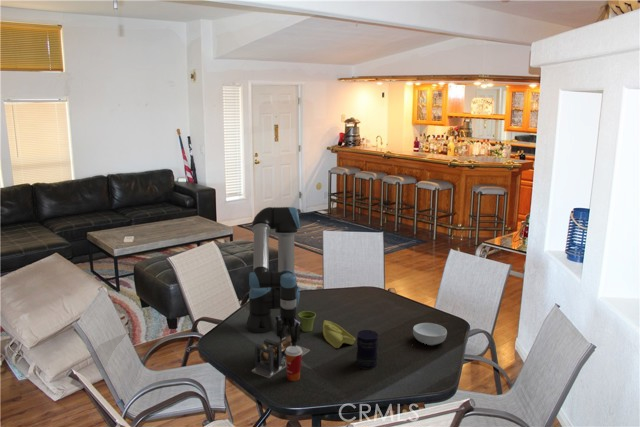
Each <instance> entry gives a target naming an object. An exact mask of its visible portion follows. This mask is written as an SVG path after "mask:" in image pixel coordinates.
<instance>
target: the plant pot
mask: <svg viewBox="0 0 640 427" xmlns="http://www.w3.org/2000/svg"><path fill="white" fill-rule="evenodd" d="M297 315H298V319H299V321H301V325H300V331H301V332H303V333H304V332H305V333H308V332H312V331H313V328H314V322H315V319H316V316H317V314H316V312H314V311H310V310H304V311H301V312H298V314H297Z"/></svg>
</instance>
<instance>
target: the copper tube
mask: <svg viewBox="0 0 640 427" xmlns="http://www.w3.org/2000/svg"><path fill="white" fill-rule="evenodd" d="M290 342H291V335H288V336H286V338H285V339H283V340H282V341H279V342H277V343H280V344H282V351H284V350H285V349H286V348H287V347H289V346H290ZM269 348H272V349H273V357H274V356H276V355H277V347H274V346H271V347H269ZM260 358H261V360H262V361H268V352H266V351H263V350H262V352H260Z"/></svg>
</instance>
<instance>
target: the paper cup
mask: <svg viewBox="0 0 640 427" xmlns="http://www.w3.org/2000/svg"><path fill="white" fill-rule="evenodd" d="M298 346H299V345H298ZM298 346H289V347H287V348H286V351H285V354H286V367H285V368H286V378H287V380H288V381H290V382H297V381H300V378H301V367H302V366H301V365H302V357H303V356H302V349H301V348H300V347H298ZM301 356H302V357H301Z"/></svg>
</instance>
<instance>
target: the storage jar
mask: <svg viewBox="0 0 640 427" xmlns="http://www.w3.org/2000/svg"><path fill="white" fill-rule="evenodd" d="M356 335H357V339H356V346H357V348H356V349H357V352H356V366H357V367H358V368H361V369H363V370H365V369H366V370H373V369H375V368H376V367H377V366H378V346H379V333H378V332H376V331H374V330H370V329H363V330H360V331H358V332H357V334H356Z"/></svg>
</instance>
